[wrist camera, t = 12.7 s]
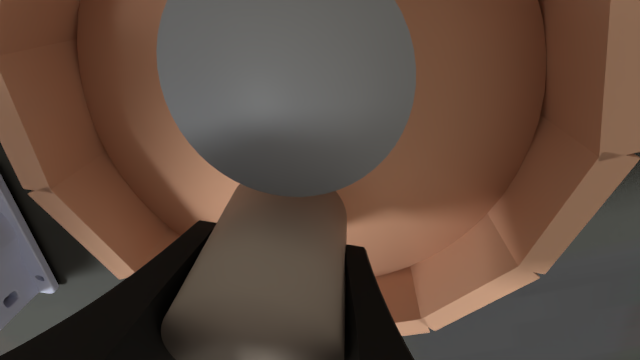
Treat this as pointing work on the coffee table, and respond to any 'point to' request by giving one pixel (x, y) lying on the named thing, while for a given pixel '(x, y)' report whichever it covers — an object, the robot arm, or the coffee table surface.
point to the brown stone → (265, 283)
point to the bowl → (377, 186)
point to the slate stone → (288, 87)
